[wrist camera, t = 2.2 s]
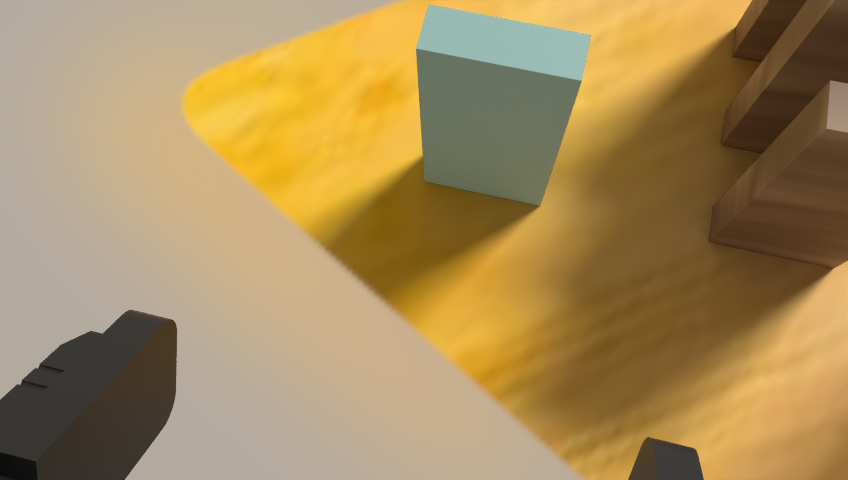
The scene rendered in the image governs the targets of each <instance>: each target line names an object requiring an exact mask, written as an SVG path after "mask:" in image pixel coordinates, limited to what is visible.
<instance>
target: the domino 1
mask: <svg viewBox="0 0 848 480" xmlns="http://www.w3.org/2000/svg"><path fill="white" fill-rule="evenodd" d="M806 1H807V0H752V2H751V3H750V5H749V7H748V8H747V10H746V11H745V13H744V15H743V16H742V18H741V19H740V21H739V23H738V24H737V26H736V31H735V39H734V47H733V55H732V56H734V57H739V58H744V59H750V60H755V61H760V62H762V61H763V60H764V59H765V57H766V56H767V55H768V53H769V52H770V50H771V49H772V48H773V46H774V45H775V44H776V42H777V41H778V40H779V38H780V37H781V35H782V34H783V33H784V31H785V30H786V29H787V27H788V26H789V24H790V23H791V22H792V20H793V19H794V18H795V16H796V15H797V14H798V12H799V11H800V9H801V8H802V7H803V5H804V4H805V3H806Z"/></svg>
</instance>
